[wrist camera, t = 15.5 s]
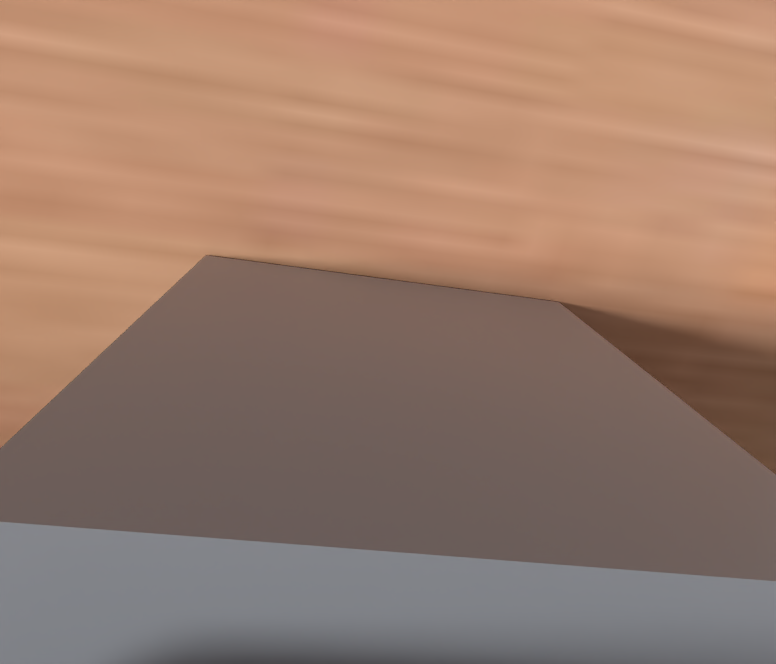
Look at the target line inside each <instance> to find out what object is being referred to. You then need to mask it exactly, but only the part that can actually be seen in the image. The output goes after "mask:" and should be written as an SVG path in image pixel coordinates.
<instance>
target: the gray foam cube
mask: <svg viewBox="0 0 776 664" xmlns="http://www.w3.org/2000/svg"><path fill="white" fill-rule="evenodd" d="M0 664H776V474H774V473H773V472H772V471H771V470H769V469H768V468H767V467H766V466H764V465H763V464H762V463H760V462H759V461H758V460H757V459H755V458H754V457H753V456H752V455H750V454H749V453H748V452H747V451H745V450H744V449H743V448H742V447H740V446H739V445H738V444H737V443H735V442H734V441H733V440H732V439H730V438H729V437H728V436H727V435H725V434H724V433H723V432H722V431H720V430H719V429H718V428H716V427H715V426H714V425H713V424H711V423H710V422H709V421H708V420H706V419H705V418H704V417H703V416H701V415H700V414H699V413H698V412H696V411H695V410H694V409H693V408H691V407H690V406H689V405H688V404H686V403H685V402H684V401H683V400H681V399H680V398H679V397H677V396H676V395H675V394H674V393H672V392H671V391H670V390H669V389H667V388H666V387H665V386H664V385H662V384H661V383H660V382H659V381H657V380H656V379H655V378H654V377H652V376H651V375H650V374H649V373H647V372H646V371H645V370H644V369H642V368H641V367H640V366H639V365H637V364H636V363H635V362H633V361H632V360H631V359H630V358H628V357H627V356H626V355H625V354H623V353H622V352H621V351H620V350H618V349H617V348H616V347H615V346H613V345H612V344H611V343H610V342H608V341H607V340H606V339H605V338H603V337H602V336H601V335H600V334H598V333H597V332H596V331H595V330H593V329H592V328H591V327H589V326H588V325H587V324H586V323H584V322H583V321H582V320H581V319H579V318H578V317H577V316H576V315H574V314H573V313H572V312H571V311H569V310H568V309H567V308H566V307H564V306H563V305H562V304H561V303H559V302H555V301H548V300H540V299H533V298H525V297H518V296H510V295H503V294H495V293H488V292H480V291H472V290H465V289H457V288H450V287H442V286H435V285H427V284H420V283H412V282H405V281H397V280H390V279H382V278H374V277H367V276H359V275H352V274H344V273H337V272H329V271H322V270H314V269H307V268H299V267H291V266H284V265H276V264H269V263H261V262H254V261H246V260H239V259H231V258H224V257H216V256H208V255H206V256H204V257H203V258H202V259H201V260H200V261H199V262H198V263H197V264H196V265H195V266H194V267H193V268H192V269H191V270H190V271H188V272H187V273H186V274H185V275H184V276H183V277H182V278H181V279H180V280H179V281H178V282H177V283H176V284H175V285H174V286H173V287H171V288H170V289H169V290H168V291H167V292H166V293H165V294H164V295H163V296H162V297H161V298H160V299H159V300H158V301H157V302H156V303H154V304H153V305H152V306H151V307H150V308H149V309H148V310H147V311H146V312H145V313H144V314H143V315H142V316H141V317H140V318H139V319H137V320H136V321H135V322H134V323H133V324H132V325H131V326H130V327H129V328H128V329H127V330H126V331H125V332H124V333H123V334H122V335H120V336H119V337H118V338H117V339H116V340H115V341H114V342H113V343H112V344H111V345H110V346H109V347H108V348H107V349H106V350H105V351H103V352H102V353H101V354H100V355H99V356H98V357H97V358H96V359H95V360H94V361H93V362H92V363H91V364H90V365H89V366H87V367H86V368H85V369H84V370H83V371H82V372H81V373H80V374H79V375H78V376H77V377H76V378H75V379H74V380H73V381H72V382H70V383H69V384H68V385H67V386H66V387H65V388H64V389H63V390H62V391H61V392H60V393H59V394H58V395H57V396H56V397H55V398H53V399H52V400H51V401H50V402H49V403H48V404H47V405H46V406H45V407H44V408H43V409H42V410H41V411H40V412H39V413H38V414H36V415H35V416H34V417H33V418H32V419H31V420H30V421H29V422H28V423H27V424H26V425H25V426H24V427H23V428H22V429H21V430H19V431H18V432H17V433H16V434H15V435H14V436H13V437H12V438H11V439H10V440H9V441H8V442H7V443H6V444H5V445H3V446H2V447H1V448H0Z"/></svg>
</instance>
